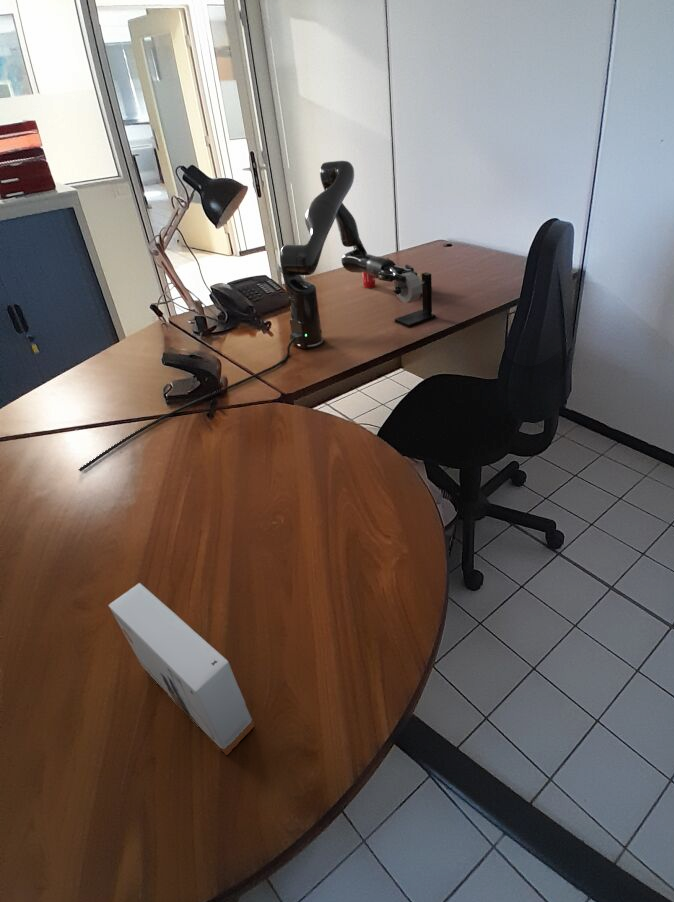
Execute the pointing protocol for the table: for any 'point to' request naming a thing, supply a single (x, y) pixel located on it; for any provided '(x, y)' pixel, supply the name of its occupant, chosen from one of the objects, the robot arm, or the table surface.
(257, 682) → the table surface
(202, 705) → the skincare box
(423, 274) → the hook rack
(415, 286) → the tape roll
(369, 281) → the beverage can
